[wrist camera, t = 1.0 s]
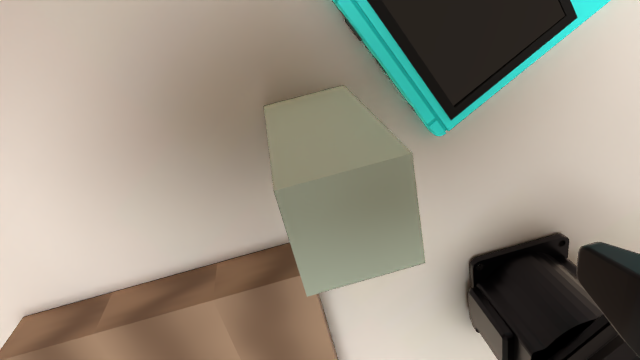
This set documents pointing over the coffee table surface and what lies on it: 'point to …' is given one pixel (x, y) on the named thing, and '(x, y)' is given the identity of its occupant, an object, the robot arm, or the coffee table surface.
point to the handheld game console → (459, 46)
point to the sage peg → (342, 190)
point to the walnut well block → (188, 318)
